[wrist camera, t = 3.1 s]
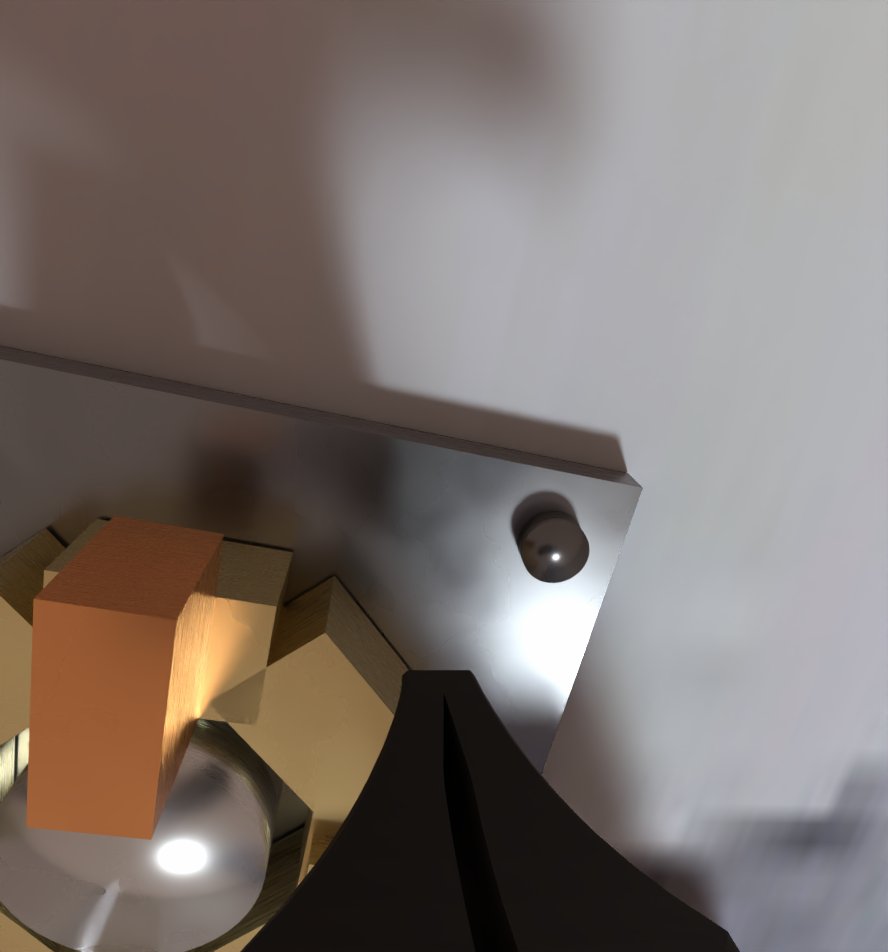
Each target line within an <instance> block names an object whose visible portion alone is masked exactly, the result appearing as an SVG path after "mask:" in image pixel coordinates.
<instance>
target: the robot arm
mask: <svg viewBox="0 0 888 952" xmlns="http://www.w3.org/2000/svg"><path fill="white" fill-rule="evenodd" d="M240 952H740V951H739V949H738V948H737V946H736V945H735V943H734V941H733V940H732V938H731V936H730V935H729V933H728V932H727V931H726V930H725V929H723V928H722V927H720V926H719V925H717V924H716V923H714V922H712V921H711V920H709V919H708V918H706V917H705V916H703V915H702V914H700V913H699V912H697V911H696V910H694V909H693V908H691V907H690V906H688V905H687V904H685V903H684V902H682V901H681V900H679V899H677V898H676V897H674V896H673V895H672V894H670V893H669V892H667V891H666V890H665V889H663V888H662V887H661V886H659V885H658V884H657V883H655V882H654V881H653V880H651V879H650V878H649V877H647V876H646V875H645V874H644V873H642V872H641V871H640V870H638V869H637V868H636V867H634V866H633V865H632V864H631V863H630V862H628V861H627V860H626V859H625V858H624V857H623V856H621V855H620V854H619V853H618V852H617V851H616V850H615V849H613V848H612V847H611V846H610V845H609V844H608V843H606V842H605V841H604V840H603V839H602V838H601V837H600V836H598V835H597V834H596V833H595V832H594V831H593V830H592V829H591V828H590V827H589V826H588V825H587V824H586V823H585V822H584V821H583V820H582V819H581V818H580V817H579V816H578V815H577V814H576V813H575V812H574V811H573V810H572V809H571V808H570V807H569V806H568V805H567V804H566V803H565V802H564V801H563V800H562V798H561V797H560V796H559V795H558V794H557V793H556V792H555V791H554V789H553V788H552V787H551V786H550V785H549V784H548V782H547V781H546V780H545V779H544V778H543V777H542V775H541V774H540V773H539V772H538V770H537V769H536V768H535V767H534V765H533V764H532V763H531V762H530V760H529V759H528V758H527V756H526V755H525V754H524V752H523V751H522V750H521V748H520V747H519V746H518V744H517V743H516V741H515V740H514V738H513V737H512V736H511V734H510V733H509V731H508V730H507V729H506V727H505V726H504V724H503V723H502V721H501V720H500V718H499V717H498V715H497V713H496V712H495V710H494V709H493V707H492V705H491V704H490V702H489V701H488V699H487V697H486V695H485V694H484V692H483V690H482V688H481V687H480V685H479V683H478V681H477V679H476V677H475V675H474V674H473V673H472V672H471V671H470V670H408V671H406V672H405V673H404V674H403V675H402V686H401V692H400V697H399V701H398V705H397V708H396V712H395V715H394V718H393V721H392V724H391V726H390V729H389V732H388V734H387V737H386V740H385V742H384V745H383V747H382V750H381V752H380V754H379V756H378V758H377V760H376V763H375V765H374V767H373V769H372V771H371V773H370V776H369V778H368V780H367V782H366V783H365V785H364V787H363V789H362V791H361V793H360V795H359V797H358V798H357V800H356V802H355V804H354V805H353V807H352V809H351V811H350V812H349V814H348V816H347V817H346V819H345V821H344V822H343V824H342V825H341V827H340V828H339V830H338V831H337V833H336V834H335V836H334V838H333V839H332V841H331V842H330V844H329V845H328V847H327V848H326V850H325V851H324V852H323V854H322V855H321V857H320V858H319V859H318V861H317V862H316V864H315V865H314V866H313V867H312V869H311V870H310V871H309V873H308V874H307V875H306V876H305V878H304V879H303V880H302V881H301V883H300V884H299V885H298V887H297V888H296V889H295V890H294V892H293V893H292V894H291V896H290V897H289V898H288V899H287V900H286V902H285V903H284V904H283V905H282V906H281V908H280V909H279V910H278V911H277V912H276V913H275V914H274V915H273V916H272V918H271V919H270V920H269V921H268V922H267V923H266V924H265V925H264V926H263V927H262V928H261V929H260V931H259V932H258V933H257V934H256V935H255V936H254V937H253V938H252V939H251V940H250V941H249V943H248V944H247V945H246V946H245V947H244V948H243V949H242V950H241V951H240Z"/></svg>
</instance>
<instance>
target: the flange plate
mask: <svg viewBox="0 0 888 952" xmlns="http://www.w3.org/2000/svg"><path fill="white" fill-rule="evenodd" d="M641 491H642V487H641V486H640V485H639V484H638V483H637V482H636V481H635V480H634V479H633V478H632V477H631V476H630V475H629V474H628V473H623V472H618V471H613V470H608V469H604V468H599V467H594V466H589V465H584V464H579V463H574V462H569V461H564V460H559V459H554V458H549V457H544V456H539V455H535V454H530V453H525V452H520V451H515V450H510V449H505V448H500V447H495V446H490V445H485V444H480V443H475V442H471V441H466V440H461V439H456V438H451V437H446V436H441V435H436V434H431V433H426V432H421V431H416V430H411V429H406V428H402V427H397V426H392V425H387V424H382V423H377V422H372V421H367V420H362V419H357V418H352V417H347V416H342V415H338V414H333V413H328V412H323V411H318V410H313V409H308V408H303V407H298V406H293V405H288V404H283V403H278V402H274V401H269V400H264V399H259V398H254V397H249V396H244V395H239V394H234V393H229V392H224V391H219V390H214V389H209V388H205V387H200V386H195V385H190V384H185V383H180V382H175V381H170V380H165V379H160V378H155V377H150V376H145V375H141V374H136V373H131V372H126V371H121V370H116V369H111V368H106V367H101V366H96V365H91V364H86V363H81V362H76V361H72V360H67V359H62V358H57V357H52V356H47V355H42V354H37V353H32V352H27V351H22V350H17V349H12V348H8V347H3V346H0V558H1V557H2V556H4V555H5V554H7V553H8V552H10V551H12V550H13V549H15V548H16V547H18V546H19V545H21V544H22V543H24V542H25V541H27V540H28V539H30V538H31V537H33V536H34V535H36V534H37V533H39V532H41V531H42V530H44V529H45V528H46V529H47V530H48V531H49V532H50V533H51V534H52V535H53V536H54V537H55V538H56V539H57V540H58V541H59V542H60V543H61V544H62V545H63V546H64V547H65V548H67V547H68V546H69V545H70V544H71V543H72V542H73V541H74V540H75V539H76V538H77V537H78V536H79V535H80V534H81V533H82V532H84V531H85V530H86V529H87V528H88V527H89V526H90V525H91V524H92V523H93V522H94V521H95V520H96V519H99V520H105V521H110V520H111V519H112V518H113V517H114V515H116V516H122V517H128V518H134V519H139V520H145V521H151V522H157V523H163V524H169V525H174V526H180V527H186V528H192V529H198V530H204V531H209V532H215V533H221V534H224V538H223V541H229V542H235V543H241V544H247V545H253V546H258V547H264V548H270V549H276V550H282V551H288V552H293V555H292V560H291V566H290V572H289V578H288V583H287V589H286V595H285V600H284V606H285V605H287V604H289V603H290V602H292V601H294V600H295V599H297V598H298V597H300V596H302V595H303V594H305V593H307V592H308V591H310V590H312V589H313V588H315V587H317V586H318V585H320V584H322V583H323V582H325V581H327V580H328V579H330V578H332V577H333V576H335V577H336V579H337V580H338V581H339V582H340V584H341V585H342V586H343V587H344V589H345V590H346V591H347V592H348V594H349V595H350V596H351V597H352V599H353V600H354V601H355V602H356V604H357V605H358V606H359V608H360V609H361V610H362V611H363V613H364V614H365V615H366V616H367V618H368V619H369V620H370V621H371V623H372V624H373V625H374V626H375V628H376V629H377V630H378V631H379V633H380V634H381V635H382V637H383V638H384V639H385V640H386V642H387V643H388V644H389V645H390V647H391V648H392V649H393V650H394V652H395V653H396V654H397V655H398V657H399V658H400V659H401V661H402V662H403V663H404V664H405V666H406V667H407V668H408V669H409V670H470V671H471V672H472V673H473V674H474V675H475V677H476V679H477V681H478V683H479V685H480V687H481V688H482V690H483V692H484V694H485V695H486V697H487V699H488V701H489V702H490V704H491V705H492V707H493V709H494V710H495V712H496V713H497V715H498V717H499V718H500V720H501V721H502V723H503V724H504V726H505V727H506V729H507V730H508V731H509V733H510V734H511V736H512V737H513V738H514V740H515V741H516V743H517V744H518V746H519V747H520V748H521V750H522V751H523V752H524V754H525V755H526V756H527V758H528V759H529V760H530V762H531V763H532V764H533V765H534V767H535V768H536V769H537V770H538V772H539V773H540V774H541V773H542V770H543V767H544V764H545V762H546V759H547V756H548V753H549V750H550V748H551V745H552V742H553V739H554V736H555V733H556V731H557V728H558V725H559V722H560V719H561V717H562V714H563V711H564V708H565V705H566V703H567V700H568V697H569V694H570V691H571V688H572V686H573V683H574V680H575V677H576V674H577V672H578V669H579V666H580V663H581V660H582V657H583V655H584V652H585V649H586V646H587V643H588V641H589V638H590V635H591V632H592V629H593V626H594V624H595V621H596V618H597V615H598V612H599V610H600V607H601V604H602V601H603V598H604V595H605V593H606V590H607V587H608V584H609V581H610V579H611V576H612V573H613V570H614V567H615V564H616V562H617V559H618V556H619V553H620V550H621V548H622V545H623V542H624V539H625V536H626V533H627V531H628V528H629V525H630V522H631V519H632V517H633V514H634V511H635V508H636V505H637V502H638V500H639V497H640V494H641ZM284 606H283V607H284ZM28 754H29V728H27V729H26V730H24V731H22V732H21V733H19V734H18V735H16V736H15V755H14V784H13V786H12V787H11V789H10V790H9V792H8V793H7V795H6V796H5V798H4V799H3V800H2V802H1V803H0V901H1V902H2V903H3V905H4V906H5V907H6V908H7V909H8V910H9V911H10V912H11V913H12V914H13V915H14V916H15V917H16V918H17V919H19V920H20V921H21V922H22V923H23V924H25V925H26V926H28V927H29V928H31V929H32V930H34V931H35V932H37V933H38V934H40V935H42V936H44V937H46V938H48V939H50V940H51V941H54V942H56V943H59V944H61V945H64V946H66V947H69V948H72V949H75V950H79V951H82V952H184V951H188V950H191V949H194V948H196V947H199V946H202V945H204V944H206V943H208V942H210V941H213V940H215V939H216V938H218V937H220V936H221V935H223V934H224V933H226V932H228V931H229V930H230V929H231V928H233V927H234V926H235V925H236V924H238V923H239V922H240V921H241V920H242V919H243V918H244V917H245V916H246V915H247V913H248V912H249V911H250V909H251V908H252V907H253V905H254V904H255V902H256V900H257V898H258V896H259V894H260V892H261V890H262V887H263V883H264V880H265V875H266V870H267V865H268V859H269V854H270V849H271V845H272V844H274V843H276V842H277V841H279V840H281V839H283V838H285V837H287V836H288V835H290V834H292V833H294V832H296V831H297V830H299V829H301V828H303V827H304V826H305V821H306V816H307V811H308V806H307V805H306V804H305V803H304V801H303V800H302V799H301V798H300V797H299V796H298V795H297V794H296V793H295V792H294V791H293V790H292V789H291V788H290V787H289V786H288V785H287V784H286V783H285V782H284V781H283V780H282V779H281V778H280V777H279V776H278V775H277V773H276V772H275V771H274V770H273V769H272V768H271V767H270V766H269V765H268V764H267V763H266V762H265V761H264V760H263V759H262V758H261V757H260V756H259V755H258V754H257V753H256V752H255V751H254V750H253V749H252V748H251V746H250V745H249V744H248V743H247V742H246V741H245V740H244V739H243V738H242V737H241V736H240V735H239V734H238V733H237V732H236V731H235V730H234V729H233V728H232V727H231V726H230V725H229V724H228V723H227V722H224V721H216V720H208V719H200V718H199V720H198V722H197V725H196V727H195V730H194V733H193V735H192V738H191V740H190V743H189V745H188V748H187V750H186V753H185V755H184V758H183V761H182V763H181V766H180V768H179V771H178V773H177V776H176V778H175V781H174V784H173V786H172V789H171V791H170V794H169V796H168V799H167V801H166V804H165V807H164V809H163V812H162V814H161V817H160V819H159V822H158V824H157V827H156V829H155V832H154V835H153V837H152V840H148V839H138V838H128V837H118V836H108V835H98V834H88V833H78V832H69V831H59V830H49V829H39V828H29V827H26V816H27V785H28Z"/></svg>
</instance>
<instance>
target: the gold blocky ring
mask: <svg viewBox="0 0 888 952" xmlns="http://www.w3.org/2000/svg"><path fill="white" fill-rule="evenodd" d="M223 538H224V534H221V533H215V532H209V531H204V530H198V529H192V528H186V527H180V526H174V525H169V524H163V523H157V522H151V521H145V520H139V519H134V518H128V517H122V516H116V515H114V517H113V518H112V519H111V520H110V521H105V520H99V519H96V520H95V521H94V522H93V523H92V524H91V525H90V526H89V527H88V528H87V529H86V530H85V531H84V532H82V533H81V534H80V535H79V536H78V537H77V538H76V539H75V540H74V541H73V542H72V543H71V544H70V545H69V546H68V547H67V548H65V547H64V546H63V545H62V544H61V543H60V542H59V541H58V540H57V539H56V538H55V537H54V536H53V535H52V534H51V533H50V532H49V531H48V530H47V529H46V528H45V529H44V530H42V531H41V532H39V533H37V534H36V535H34V536H33V537H31V538H30V539H28V540H27V541H25V542H24V543H22V544H21V545H19V546H18V547H16V548H15V549H13V550H12V551H10V552H8V553H7V554H5V555H4V556H2V557H1V558H0V803H1V802H2V800H3V799H4V798H5V796H6V795H7V793H8V792H9V790H10V789H11V787H12V786H13V784H14V755H15V736H16V735H18V734H19V733H21V732H22V731H24V730H26V729H27V728H29V754H28V785H27V816H26V827H29V828H39V829H49V830H59V831H69V832H78V833H88V834H98V835H108V836H118V837H128V838H138V839H148V840H152V837H153V835H154V832H155V829H156V827H157V824H158V822H159V819H160V817H161V814H162V812H163V809H164V807H165V804H166V801H167V799H168V796H169V794H170V791H171V789H172V786H173V784H174V781H175V778H176V776H177V773H178V771H179V768H180V766H181V763H182V761H183V758H184V755H185V753H186V750H187V748H188V745H189V743H190V740H191V738H192V735H193V733H194V730H195V727H196V725H197V722H198V720H199V718H200V719H208V720H216V721H224V722H227V723H228V724H229V725H230V726H231V727H232V728H233V729H234V730H235V731H236V732H237V733H238V734H239V735H240V736H241V737H242V738H243V739H244V740H245V741H246V742H247V743H248V744H249V745H250V746H251V748H252V749H253V750H254V751H255V752H256V753H257V754H258V755H259V756H260V757H261V758H262V759H263V760H264V761H265V762H266V763H267V764H268V765H269V766H270V767H271V768H272V769H273V770H274V771H275V772H276V773H277V775H278V776H279V777H280V778H281V779H282V780H283V781H284V782H285V783H286V784H287V785H288V786H289V787H290V788H291V789H292V790H293V791H294V792H295V793H296V794H297V795H298V796H299V797H300V798H301V799H302V800H303V801H304V803H305V804H306V805H307V806H308V811H307V816H306V821H305V826H304V827H303V828H301V829H299V830H297V831H296V832H294V833H292V834H290V835H288V836H287V837H285V838H283V839H281V840H279V841H277V842H276V843H274V844H272V845H271V849H270V854H269V859H268V865H267V870H266V875H265V880H264V883H263V887H262V890H261V892H260V894H259V896H258V898H257V900H256V902H255V904H254V905H253V907H252V908H251V909H250V911H249V912H248V913H247V915H246V916H245V917H244V918H243V919H242V920H241V921H240V922H239V923H238V924H236V925H235V926H234V927H233V928H231V929H230V930H229V931H228V932H226V933H224V934H223V935H221V936H220V937H218V938H216V939H215V940H213V941H210V942H208V943H206V944H204V945H202V946H199V947H196V948H194V949H191V950H188V951H184V952H240V951H241V950H242V949H243V948H244V947H245V946H246V945H247V944H248V943H249V941H250V940H251V939H252V938H253V937H254V936H255V935H256V934H257V933H258V932H259V931H260V929H261V928H262V927H263V926H264V925H265V924H266V923H267V922H268V921H269V920H270V919H271V918H272V916H273V915H274V914H275V913H276V912H277V911H278V910H279V909H280V908H281V906H282V905H283V904H284V903H285V902H286V900H287V899H288V898H289V897H290V896H291V894H292V893H293V892H294V890H295V889H296V888H297V887H298V885H299V884H300V883H301V881H302V880H303V879H304V878H305V876H306V875H307V874H308V873H309V871H310V870H311V869H312V867H313V866H314V865H315V864H316V862H317V861H318V859H319V858H320V857H321V855H322V854H323V852H324V851H325V850H326V848H327V847H328V845H329V844H330V842H331V841H332V839H333V838H334V836H335V834H336V833H337V831H338V830H339V828H340V827H341V825H342V824H343V822H344V821H345V819H346V817H347V816H348V814H349V812H350V811H351V809H352V807H353V805H354V804H355V802H356V800H357V798H358V797H359V795H360V793H361V791H362V789H363V787H364V785H365V783H366V782H367V780H368V778H369V776H370V773H371V771H372V769H373V767H374V765H375V763H376V760H377V758H378V756H379V754H380V752H381V750H382V747H383V745H384V742H385V740H386V737H387V734H388V732H389V729H390V726H391V724H392V721H393V718H394V715H395V712H396V708H397V705H398V701H399V697H400V692H401V686H402V675H403V674H404V673H405V672H406V671H408V670H409V669H408V668H407V667H406V666H405V664H404V663H403V662H402V661H401V659H400V658H399V657H398V655H397V654H396V653H395V652H394V650H393V649H392V648H391V647H390V645H389V644H388V643H387V642H386V640H385V639H384V638H383V637H382V635H381V634H380V633H379V631H378V630H377V629H376V628H375V626H374V625H373V624H372V623H371V621H370V620H369V619H368V618H367V616H366V615H365V614H364V613H363V611H362V610H361V609H360V608H359V606H358V605H357V604H356V602H355V601H354V600H353V599H352V597H351V596H350V595H349V594H348V592H347V591H346V590H345V589H344V587H343V586H342V585H341V584H340V582H339V581H338V580H337V579H336V577H335V576H333V577H332V578H330V579H328V580H327V581H325V582H323V583H322V584H320V585H318V586H317V587H315V588H313V589H312V590H310V591H308V592H307V593H305V594H303V595H302V596H300V597H298V598H297V599H295V600H294V601H292V602H290V603H289V604H287V605H285V606H284V600H285V595H286V589H287V583H288V578H289V572H290V566H291V560H292V555H293V552H288V551H282V550H276V549H270V548H264V547H258V546H253V545H247V544H241V543H235V542H229V541H223ZM283 606H284V607H283ZM0 952H82V951H79V950H75V949H72V948H69V947H66V946H64V945H61V944H59V943H56V942H54V941H51V940H50V939H48V938H46V937H44V936H42V935H40V934H38V933H37V932H35V931H34V930H32V929H31V928H29V927H28V926H26V925H25V924H23V923H22V922H21V921H20V920H19V919H17V918H16V917H15V916H14V915H13V914H12V913H11V912H10V911H9V910H8V909H7V908H6V907H5V906H4V905H3V903H2V902H1V901H0Z"/></svg>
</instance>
